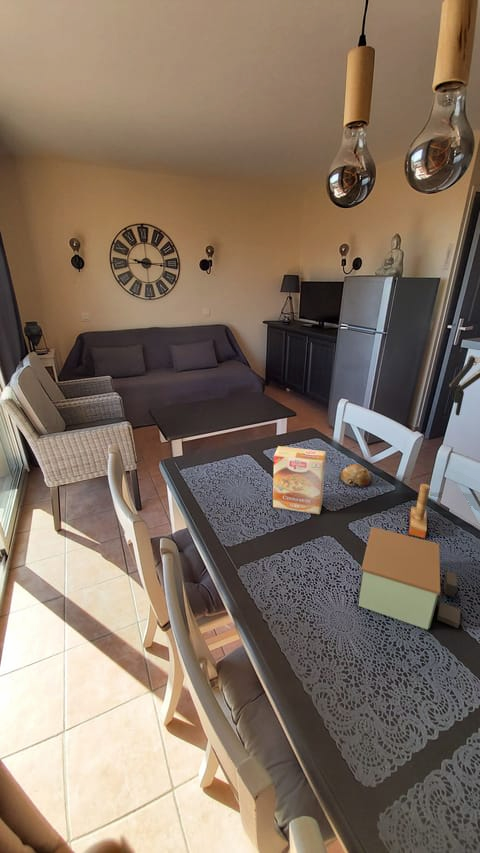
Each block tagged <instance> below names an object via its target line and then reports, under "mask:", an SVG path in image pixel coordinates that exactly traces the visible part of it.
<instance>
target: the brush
mask: <svg viewBox="0 0 480 853" xmlns="http://www.w3.org/2000/svg"><path fill="white" fill-rule="evenodd" d="M430 490H431V486H430V485H429V484H426V483H421V484H420V486H419V491H418V496H417V501H416V506H413V505H411V508H410V513H409V532H408V534H409V536H413V537H414V536H415V537H419V538H423V539H425V538H426V535H427V531H428V527H427V525H428V523H427V522H428V521H427V520H428V518H427V516H428V515H427V504H428V499H429V495H430Z"/></svg>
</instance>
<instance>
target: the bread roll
mask: <svg viewBox="0 0 480 853" xmlns="http://www.w3.org/2000/svg"><path fill="white" fill-rule="evenodd" d="M340 479H341V481H343V482H344V484H346V485H348V486H351V487H359V488H360V487H361V488H362V487H363V488H364V487H367V486H369V485H370V483H371V473H370V471H369V470H368V469H367V468H366V467H365V466H363V465H361V464H359V463H354V464H350V465H348V466H346V467H344V469H343V470H342V471H341V474H340Z"/></svg>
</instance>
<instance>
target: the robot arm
mask: <svg viewBox="0 0 480 853" xmlns="http://www.w3.org/2000/svg"><path fill="white" fill-rule="evenodd" d="M478 363H480V357H477V356H474V355H469V357H468V359H467V362H466V364H465V365H464V366H463V367H462V369H461V370H460V371H459V372H458V374H457V375H456V376H455V377H454V378H453V379H452V380H451V382H449V384H448V387H449V390H452V391H454V395H453V396H454V397H453V402H454V403H455V404H456V407H455V408H456V409H455V416H460V413H461V410H462V405H463V399H464V395H465V393H464V390H465V389H467V388H468V387H469V386H471V385H472V384H474V383H475V382H477V381H478V380H479V379H480V368H479V369H478V370H476V371H475V372H474V373H473V374H472V375H470V376H468V377H467V378H466V379H465V380H464V381H462V380H463V379H464V378H465V376H466V375H467V374H468V373H469V372H470V371H471V369H472V368H473V367H474V366H476V365H477V364H478ZM461 381H462V382H461Z"/></svg>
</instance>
